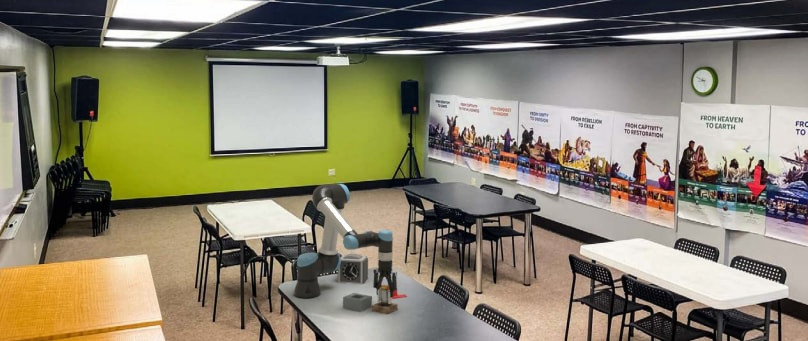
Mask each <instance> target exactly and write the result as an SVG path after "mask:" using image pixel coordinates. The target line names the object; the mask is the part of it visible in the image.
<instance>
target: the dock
mask: <svg viewBox="0 0 808 341" xmlns="http://www.w3.org/2000/svg"><path fill="white" fill-rule="evenodd" d="M372 305H373V296H372V295H368V294H362V293H357V292H356V293H355V292H352V293H349V294H348V295H347V294H346V295H345V296H342V309H346V310H352V311H357V312H363V311H364V312H365V311H367V310H368V309H372Z"/></svg>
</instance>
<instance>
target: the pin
mask: <svg viewBox="0 0 808 341" xmlns="http://www.w3.org/2000/svg"><path fill="white" fill-rule="evenodd" d="M380 289H381V301H380V302H381V306H384V307H388V306H389V304H388V292H389V291H390V290H389V286H388V284H381V288H380Z"/></svg>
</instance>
